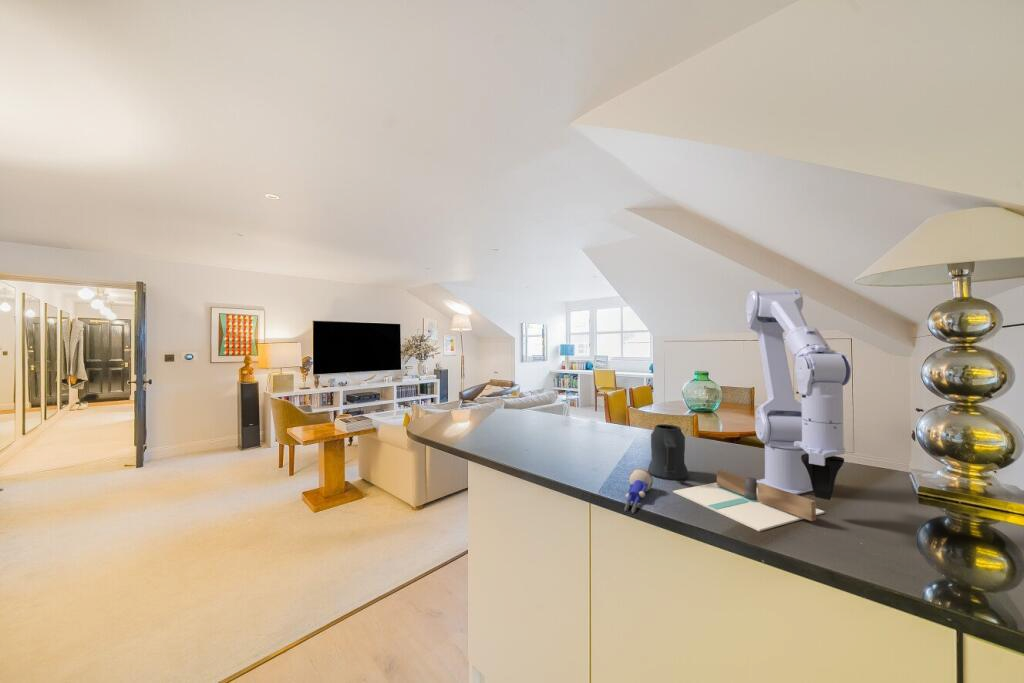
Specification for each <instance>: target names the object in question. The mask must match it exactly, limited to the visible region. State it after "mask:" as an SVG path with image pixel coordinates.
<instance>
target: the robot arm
mask: <svg viewBox="0 0 1024 683" xmlns="http://www.w3.org/2000/svg"><path fill="white" fill-rule="evenodd" d="M803 306H804V297H803V293H801V292H800V290H799V289H797V288H793V289H780V290H779V289H777V290H751V291H750V292H749V293H748V294H747V297H746V303H745V311H746V320H747V323H748V327H749V329H750V330H752V331H754V332H756V336H757V340H758V345H759V352H760V358H761V365H762V370H763V377H764V385H765V390H766V391H765V392H766V397H767V400H765V402H763V403H761V404H760V405H759V406H757V408H756V409H755V412H754V414H755V416H754V417H755V421H754V422H755V423H754V427H755V428H754V429H755V433H756V437H757V438H758V440H760V442H761V443H763V444H764V478H761V479H756V480H757V485H758V484H760V483H763V484H766V485H769V486H772V487H775V488H778V489H781V490H784V491H787V492H790V493H793V494H796V495H800V494H804V493H808V492H812V491H813V494H814V497H815V498H818V499H823V500H826V501H827V500H828V501H831V498H832V496H833V492H834V489H835V483H836V479H837V475H838V473H839V471H840V469H841V468H842V466H843V465H844V462H845V458H844V457H841V456H840V455H845V453H846V448H845V447H844V446H845V445H844V441H845V440H844V386H845V385H847V384H848V383H849V381H850V379H851V376H852V366H851V363H850V362H851V361H850V360H849V358H848V357H847V356H848V355H847V354H845V353H843V352H839V351H837V350H836V349H835V350H833V349H832V348H831V347H830V346H829V344H828V342H827V341H826V340H825V339H824V337H823V335H822V334H821V332H820V331H819V330H818V329H817V328H815V327H814V326H811V325H810V326H809V325H808V324H807V321H806V320H805V317H804V315H803V312H802V310H803ZM784 332H785V333H786V335H785V338H784ZM785 345H786V346H785ZM786 347H787V349H788V350H789V352H790V354H791V356H792V358H793V360H794V363H795V364H794V376H795V379H796V382H797V390H798V393H799V394H801V402H799V401H798V400H797V399H795V395H794V389H793V385H792V384H793V383H792V378H791V374H790V373H791V372H790V368H789V364H788V357H787V352H786Z"/></svg>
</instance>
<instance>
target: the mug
mask: <svg viewBox="0 0 1024 683" xmlns="http://www.w3.org/2000/svg"><path fill="white" fill-rule="evenodd" d="M650 448H651V450H650V451H651V460H650V461H649V464H648V469H647V471H648V472H649V473H650V475H651V476H652V478H656V479H659V480H665V481H671V482H673V481H676V482H677V481H679V482H680V481H685V480H688V479H689V472H688V467H687V465H686V464H685V450H686V436H685V434H684V433H683V432H682V428H681V427H680V426H678V425H674V424H665V423H664V424H656V425H654V429H653V431H652V432H651V433H650Z"/></svg>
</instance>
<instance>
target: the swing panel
mask: <svg viewBox="0 0 1024 683" xmlns="http://www.w3.org/2000/svg"><path fill="white" fill-rule="evenodd" d="M757 488H758V501H760V502H762V503H765V504H768V505H770V506H773V507H776V508H778V509H781V510H784V511H786V512H789V513H791V514H794V515H797V516H799V517H802V518H805V519H804V520H808V521H811V522H814V521H816V520H817V515H816V509H817V506H816V504H817V502H816V500H814V499H811V498H808V497H805V496H803V495H800V494H797V495H796V494H793V493H790V492H787V491H784V490H781V489H778V488H775V487H772V486H769V485H766V484H763V483H760V484H758V483H757Z"/></svg>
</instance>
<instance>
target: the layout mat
mask: <svg viewBox="0 0 1024 683" xmlns="http://www.w3.org/2000/svg"><path fill="white" fill-rule="evenodd" d="M672 493H674V494H676V495H678V496H680V497H682V498H685V499H687V500H688V501H691V502H694V503H696V504H698V505H700V506H702V507H704V508H706V509H709V510H711V511H713V512H715V513H717V514H720V515H722V516H724V517H726V518H729V519H730V520H732V521H735V522H737V523H740V524H741V525H744V526H747V527H749V528H751V529H753V530H755V531H757V532H762V531H766V530H769V529H772V528H777V527H780V526H783V525H787V524H791V523H794V522H798V521H801V520H806V519H805V518H802V517H799V516H797V515H794V514H791V513H789V512H786V511H784V510H781V509H778V508H776V507H773V506H770V505H768V504H765V503H762V502H760V501H758V487H757V500H748V499H746V498H745V496H744V495H741V494H739V493H736V492H733V491H731V490H728V489H726V488H723V487H720V486H718V485H717V481H716V482H713V483H712V482H711V483H707V484H701V485H697V486H692V487H691V486H690V487H685V488H680V489H676V490H672ZM825 512H826V511H825V510H822V509H819V508H816V516H818V515H822V514H825Z"/></svg>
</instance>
